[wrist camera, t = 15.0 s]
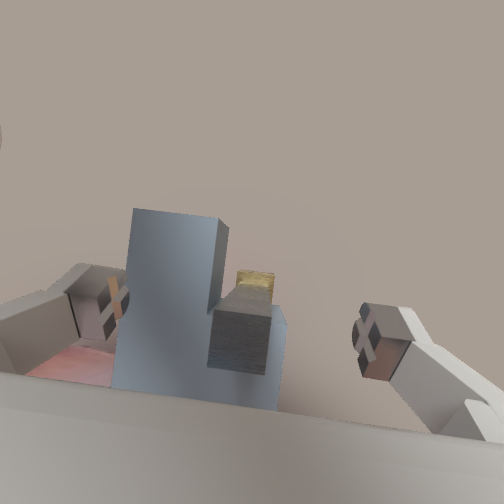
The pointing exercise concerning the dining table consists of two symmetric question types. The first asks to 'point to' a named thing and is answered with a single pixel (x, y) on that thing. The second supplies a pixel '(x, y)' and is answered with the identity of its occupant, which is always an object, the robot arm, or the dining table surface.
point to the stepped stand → (184, 315)
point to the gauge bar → (243, 325)
